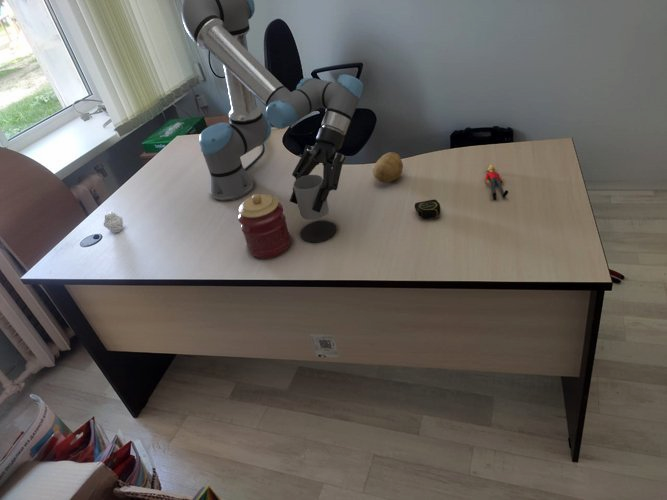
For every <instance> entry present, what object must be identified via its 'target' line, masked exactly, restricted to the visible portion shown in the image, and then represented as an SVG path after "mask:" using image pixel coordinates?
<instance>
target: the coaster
mask: <svg viewBox="0 0 667 500" xmlns="http://www.w3.org/2000/svg"><path fill="white" fill-rule="evenodd" d="M337 231H338V228H337V225H336V224H335V223H334V222H332V221H330V220H314V221H311V222H309V223H308V224H306V225H305V226H303V227H302V228H301V230H300V238H301V239H302V240H303V241H304V242H307V243H310V244H319V243H323V242H327V241H329V240H330V239H332V238H333V237H334V236H335V235H336V233H337Z"/></svg>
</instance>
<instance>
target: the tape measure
mask: <svg viewBox="0 0 667 500" xmlns="http://www.w3.org/2000/svg"><path fill="white" fill-rule="evenodd" d="M414 209H415V211H416V213H417V215H418V217H419V218H421V219H422V220H423V219H424V220H432V219H436V218H438V217H439V216H440V215H441V204H440V202H439V201H438V200H437V199H429V200H428V199H427V200H423V201H418V202H415V203H414Z"/></svg>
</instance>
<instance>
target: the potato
mask: <svg viewBox="0 0 667 500" xmlns="http://www.w3.org/2000/svg"><path fill="white" fill-rule="evenodd" d="M403 168H404V164H403V161H402V158H401V157H400V155H399V154H398V153H396V152H394V151H389V152H387V153H384V154H383V155H381V157H380V158H378V160H377V161H376V162H375V164H374V165H373V167H372V170H371V171H372V175H373V177H374V179H375V180H377V181H378V182H379V183H384V184H385V183H391V182H393V181H395V180H397V179H398V178H399V177H400V176H401V174H402V172H403Z"/></svg>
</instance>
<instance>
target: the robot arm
mask: <svg viewBox="0 0 667 500" xmlns="http://www.w3.org/2000/svg"><path fill="white" fill-rule="evenodd" d="M255 5H256V4H255V1H254V0H183V1H182V5H181V21H182V24H183V27H184V29H185V30H186V33H187V34H188V36H189V37H190V39H191V40H192V41H193V42H194V43H195V44H196V45H197V46H198V47H199V48H200V49H203V50H205V49H206V50H207V51H208V52H209V53H211V54H212V56H214V57H215V58H216V59H217V60H218V61H219V62H220V63H221V65H223V70H224V76H225V81H226V86H227V92H228V97H229V102H230V103H229V104H230V107H231V109H230V110H229V111H228V114H227V116H228V121H229V123H228V122H216V124H211V125H209V126H208V127H206V128H204V130H202V131H201V133H200V134H199V137H198V142H199V147H200V151H201V152H202V156H203V158H204V160H205V163H206V166H207V169H208V172H209V175H210V194H211V196H212V198H213V199H214V200H216V201H219V202H229V201H235V200H238V199H241V198H244V197H245V196H246V195H248V194H249V193H251V191H252V190H253V189H254V186H255V185H254V181H253V179H252V178H251V176H250V175H249V173H248V171H247V170H249V169H250V168H251V167H252V166H254V164H255V163H256V162H257V161H259V160H260V159H261V157H262V156H263V155H264V153H265V150H266V149H265V148H266V147H265V142H267V141H268V140H269V139H270V136H271V133H272V127H274V128H276V129H279V130H283V129H286V128H289V127H290V126H293V125H294V124H296V122H298V121H300V120H301V119H303V118H304V117H307V116H308V115H310V114H311V113H313V112H315V111H316V110H319V109H326V111H325V113H324V116H323V119H322V121H321V123H320V127H319V129H318V132H317V134H316V137H315V140H316V142H315V144H314V145H312V146H311V145H309V144H306V145H305V147H304V150H303V153H302V155H301V156H300V158H299V161H298V163H296V165H295V167H294V169H293V171H292V174H291V175H292V177H293V178H295V181H296V180H297V179H298V178H300V177H303V176H306V175H311V173H312V172H313V170H314V169H315V168H316V167H317V166H318V165H320V164H321V165H322V166H323V170H322V179H323V186H321V187H322V188H320V189H319V192H318V194H317V197H316V200H315V202H314V205H313V208H312V210H314V211H316V212H319V213H320V210H321V208H322V205H323V202H324V201H326V199H327V200H328V196H329V194H330V192H331V191H337V190H338V187H339V182H340V177H341V173H342V169H343V165H344V162H345V161H346V156H345V155H344V154H342V153H341V152H339V150H340V149H341V148H342V146H343V144H344V141H345V136H346V135H347V133H348V131H349V127H350V124H351V123H352V120H353V116H354V114H355V111H356V109H357V106H358V104H359V102H360V100H361V96H362V93H363V90H364V84H363V82H362V81H361V80H360V79H358V78H357V77H356V76H352V75H350V74H345V73H344V74H340V75H339V76H338V78H337V80H336V81H329V80H324V79H318V78H316V77H315V78H314V77H304V78H302V79H300V81H299V82H298V84H297V85H296V87H295V89H294V90H293V91H290V90H289V89H288V88H287V87H286V86H285V85H283V84H282V83H281V82H280V80H278V79H277V78H276V77H275V76H274V74H272V73H271V72H270V71H269V70H268V69H267V68H266V67H265V66H264V65H263V64H262V63H261V62H260V61H259V60H258V59H257V58H256V57H255V56H254V55H253V54H252V53H250V51H249V49H248V47H249V46H248V42H247V41H248V40H247V35H248V33H249V32H250V30H251V28H250V21H249V20H251V19H252V17H253V16H254V14H255V11H256V6H255ZM256 98H257V99H258V100H259V101H260V102H261V103H262V105H264V106H265V107H266V110H265V112H264V111H262V108H261V107H259V106H258V105H257V100H256ZM257 147H262V149H261V152H260V153H259V155H258V156H257V157H255V159H253V161H252V162H250V163H249V164H248V165H247V166H246V167H245V168H244V166H243V162H242V159H241V157H243V156H244V155H246V154H248V153H249V152H251V151H252V150H254V149H256V148H257ZM323 188H324V189H323ZM289 202H290V203H293V204H295V205H298V203H297V199H296V195H295V190H294V186H293V187H292V193H291V196H290V199H289Z"/></svg>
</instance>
